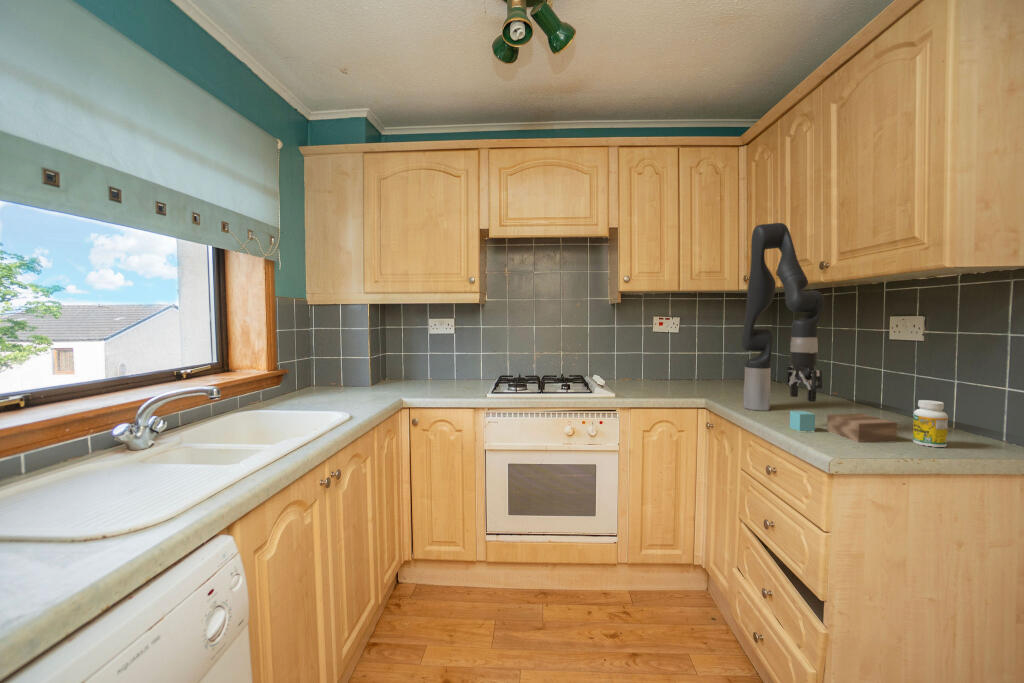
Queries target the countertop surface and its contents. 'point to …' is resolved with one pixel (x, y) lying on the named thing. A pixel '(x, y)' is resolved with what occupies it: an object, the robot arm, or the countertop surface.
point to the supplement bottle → (930, 424)
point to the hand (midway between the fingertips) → (802, 398)
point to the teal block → (802, 420)
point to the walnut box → (862, 427)
